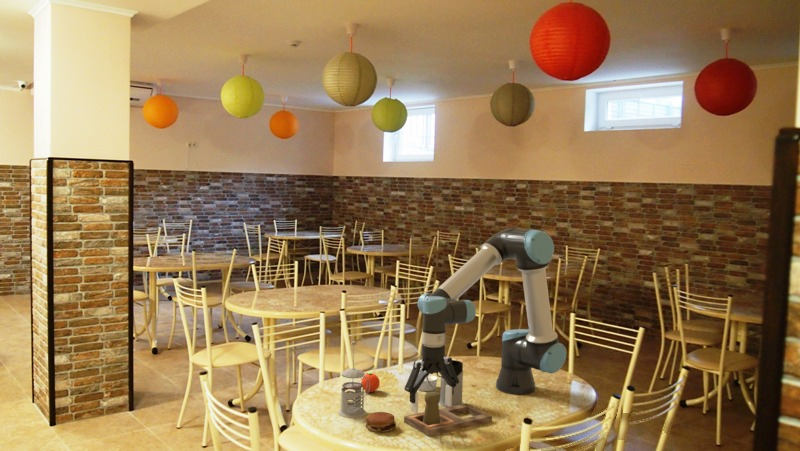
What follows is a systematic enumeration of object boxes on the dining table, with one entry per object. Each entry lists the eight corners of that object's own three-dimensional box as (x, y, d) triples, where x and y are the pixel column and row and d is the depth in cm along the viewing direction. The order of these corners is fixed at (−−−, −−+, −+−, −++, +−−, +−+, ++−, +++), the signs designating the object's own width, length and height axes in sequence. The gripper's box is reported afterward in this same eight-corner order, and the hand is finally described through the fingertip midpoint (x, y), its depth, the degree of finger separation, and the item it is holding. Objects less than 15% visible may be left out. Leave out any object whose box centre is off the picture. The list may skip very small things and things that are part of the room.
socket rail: (465, 409, 228) (465, 402, 228) (491, 421, 216) (492, 415, 216) (404, 422, 214) (404, 415, 214) (428, 436, 202) (428, 429, 202)
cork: (439, 430, 208) (440, 396, 207) (420, 428, 209) (421, 394, 208) (441, 423, 214) (443, 390, 213) (423, 421, 215) (425, 389, 214)
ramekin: (409, 387, 251) (409, 376, 251) (427, 383, 257) (427, 372, 256) (424, 393, 244) (424, 382, 244) (441, 389, 250) (442, 378, 249)
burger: (360, 426, 210) (360, 412, 210) (384, 421, 215) (384, 407, 215) (376, 436, 202) (377, 422, 201) (401, 430, 207) (401, 416, 207)
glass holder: (460, 409, 228) (461, 367, 227) (421, 404, 232) (422, 363, 231) (465, 401, 236) (466, 361, 235) (427, 396, 240) (428, 357, 239)
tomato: (357, 389, 247) (357, 370, 247) (374, 387, 250) (374, 369, 250) (364, 395, 240) (365, 376, 239) (382, 393, 243) (382, 374, 242)
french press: (332, 411, 222) (333, 339, 221) (360, 405, 229) (361, 335, 228) (347, 420, 215) (349, 346, 213) (376, 413, 222) (378, 341, 220)
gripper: (407, 351, 200) (406, 419, 201) (470, 342, 213) (468, 405, 215) (394, 346, 206) (393, 411, 207) (456, 338, 220) (454, 399, 221)
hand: (431, 408), depth 211 cm, fingers open, 13 cm apart
